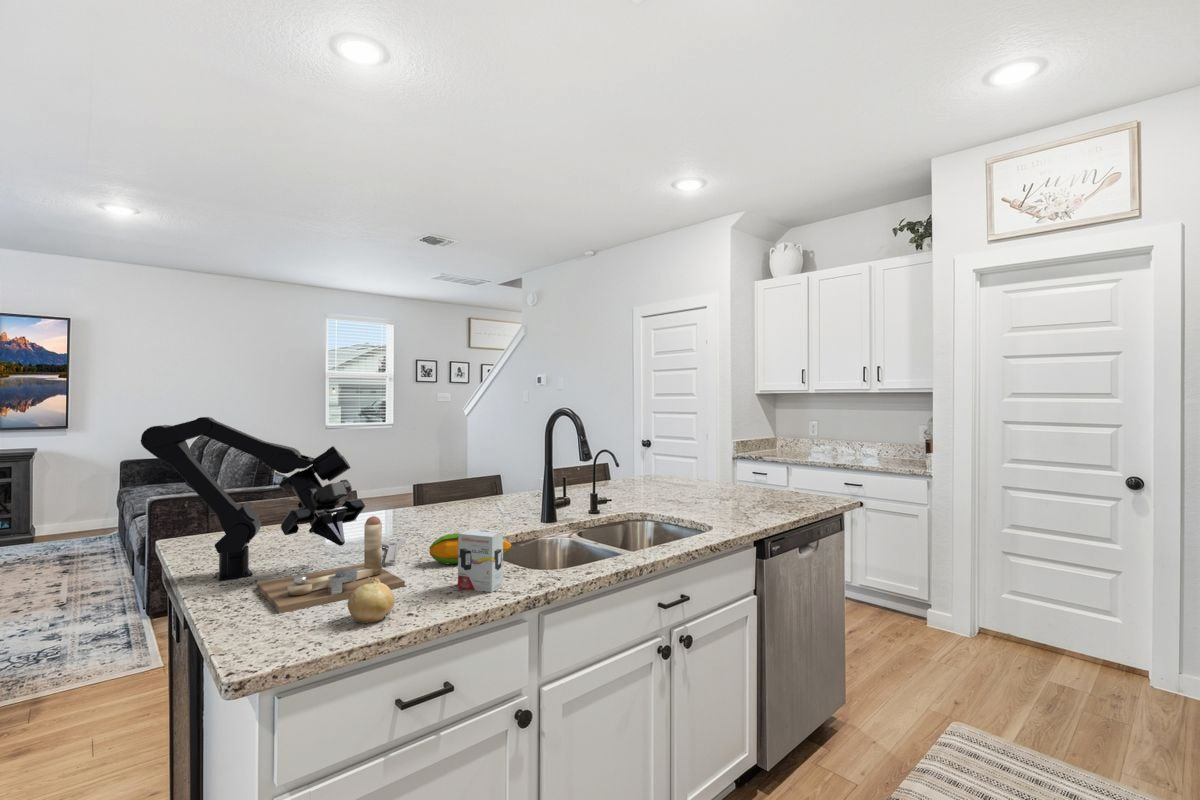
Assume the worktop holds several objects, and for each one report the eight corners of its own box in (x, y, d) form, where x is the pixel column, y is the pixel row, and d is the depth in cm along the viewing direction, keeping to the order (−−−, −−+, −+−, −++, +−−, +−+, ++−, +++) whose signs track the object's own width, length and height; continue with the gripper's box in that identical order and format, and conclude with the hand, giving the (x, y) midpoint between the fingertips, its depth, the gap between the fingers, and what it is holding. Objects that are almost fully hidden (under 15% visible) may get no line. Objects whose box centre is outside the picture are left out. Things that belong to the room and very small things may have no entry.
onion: (402, 618, 105) (402, 579, 105) (358, 630, 100) (358, 589, 100) (383, 608, 111) (383, 571, 111) (340, 618, 105) (340, 579, 105)
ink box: (456, 588, 123) (456, 532, 123) (469, 582, 127) (469, 528, 127) (491, 593, 120) (491, 535, 120) (503, 586, 124) (503, 531, 124)
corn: (429, 530, 145) (509, 525, 150) (429, 560, 145) (509, 554, 151) (429, 538, 138) (513, 533, 143) (429, 570, 138) (513, 563, 144)
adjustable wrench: (396, 568, 139) (396, 561, 139) (367, 570, 138) (367, 563, 138) (407, 543, 164) (407, 537, 164) (383, 545, 162) (383, 538, 162)
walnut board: (256, 588, 123) (256, 582, 123) (371, 567, 139) (371, 562, 139) (279, 613, 108) (279, 606, 108) (404, 586, 124) (404, 581, 124)
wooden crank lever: (294, 596, 113) (294, 532, 113) (283, 592, 115) (283, 529, 115) (386, 573, 129) (386, 516, 129) (374, 569, 131) (375, 514, 131)
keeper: (292, 593, 116) (292, 577, 116) (354, 581, 124) (354, 566, 124) (302, 602, 110) (303, 586, 110) (367, 589, 118) (367, 573, 118)
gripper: (289, 473, 126) (323, 529, 121) (360, 465, 143) (392, 514, 137) (266, 507, 129) (298, 562, 124) (337, 495, 146) (368, 544, 141)
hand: (342, 544), depth 132 cm, fingers closed
